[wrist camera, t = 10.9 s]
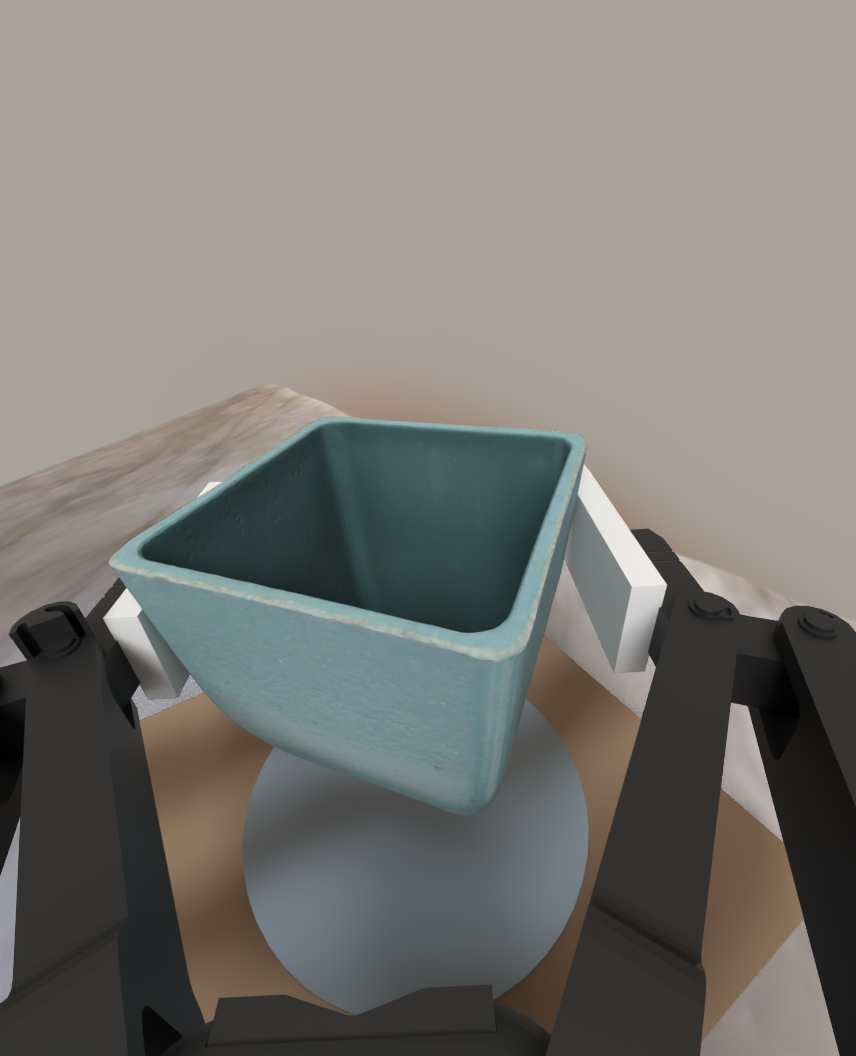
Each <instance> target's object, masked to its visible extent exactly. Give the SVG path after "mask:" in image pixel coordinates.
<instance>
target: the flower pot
mask: <svg viewBox="0 0 856 1056" xmlns="http://www.w3.org/2000/svg"><path fill="white" fill-rule="evenodd" d="M587 447H588V444H587V441H586V440H585V438H584V437H583V436H582V435H580V434H575V433H565V432H557V431H543V430H535V429H530V428H528V429H519V428H498V427H479V426H469V425H449V424H438V423H421V422H404V421H391V420H377V419H364V418H353V417H324V418H321V419H319V420H317V421H315V422H313V423H312V424H310V425H309V426H307V427H305V428H303V429H302V430H300V431H299V432H297V433H296V434H294V435H293V436H291V437H289V438H288V439H286V440H285V441H283V442H282V443H281V444H279V445H278V446H276V447H275V448H273V449H271V451H269V452H267V453H265V454H264V455H262V456H261V457H259V458H258V459H256V460H254V461H253V462H251V463H250V464H249V465H247V466H245V467H243V468H242V469H241V470H239V471H238V472H236V473H235V474H233V475H232V476H231V477H229V478H228V479H226V480H225V481H223V482H222V483H220V484H218V485H217V486H215V487H214V488H212V489H211V490H209V491H207V492H206V493H204V494H203V495H201V496H199V497H198V498H197V499H195V500H194V501H192V502H190V503H189V504H187V505H185V506H184V507H182V508H180V509H179V510H177V511H176V512H174V513H173V514H171V515H170V516H168V517H166V518H165V519H163V520H162V521H160V522H158V523H157V524H155V525H153V526H151V527H150V528H149V529H147V530H145V531H144V532H142V533H141V534H139V535H138V536H136V537H135V538H133V539H132V540H130V541H129V542H127V543H126V544H125V545H124V546H123V547H122V548H121V549H119V550H118V551H117V552H116V553H115V554H113V555H112V557H111V558H110V560H109V564H110V566H111V567H112V569H113V570H114V571H115V573H116V574H117V575H118V576H119V578H120V579H121V580H122V582H123V583H124V585H125V586H126V588H127V589H128V590H129V592H130V593H131V594H132V596H133V597H134V598H135V600H136V601H137V602H138V604H139V605H140V607H141V608H142V609H143V611H144V612H145V614H146V615H147V616H148V618H149V619H150V621H151V622H152V623H153V625H154V626H155V627H156V629H157V630H158V632H159V633H160V634H161V636H162V637H163V638H164V640H165V641H166V642H167V644H168V645H169V646H170V648H171V649H172V651H173V652H174V653H175V655H176V656H177V657H178V659H179V660H180V661H181V663H182V664H183V665H184V667H185V668H186V669H187V671H188V672H189V673H190V675H191V676H192V677H193V679H194V680H195V681H196V682H197V684H198V685H199V686H200V688H201V689H202V690H203V691H204V692H205V694H206V695H207V696H208V697H209V698H210V699H211V701H212V702H213V703H214V704H215V705H216V706H217V707H218V708H219V709H220V710H221V711H222V712H224V713H225V714H226V715H227V716H228V717H229V718H231V719H232V720H233V721H234V722H236V723H237V724H238V725H240V726H241V727H242V728H244V729H245V730H247V731H248V732H250V733H251V734H253V735H255V736H256V737H258V738H259V739H261V740H263V741H265V742H267V743H268V744H270V745H272V746H274V747H276V748H279V749H281V750H283V751H285V752H287V753H289V754H292V755H294V756H297V757H299V758H302V759H305V760H308V761H311V762H313V763H316V764H319V765H321V766H324V767H327V768H330V769H333V770H336V771H338V772H341V773H344V774H347V775H350V776H352V777H355V778H358V779H361V780H364V781H366V782H369V783H372V784H375V785H378V786H380V787H383V788H386V789H389V790H391V791H394V792H397V793H400V794H402V795H405V796H407V797H410V798H413V799H415V800H418V801H421V802H423V803H426V804H429V805H431V806H434V807H436V808H439V809H442V810H445V811H447V812H451V813H455V814H459V815H471V814H475V813H477V812H479V811H482V810H483V809H485V808H486V807H487V806H488V805H489V804H490V803H491V802H492V801H493V799H494V798H495V796H496V795H497V793H498V791H499V789H500V787H501V785H502V782H503V780H504V777H505V774H506V771H507V768H508V765H509V761H510V757H511V753H512V749H513V745H514V741H515V737H516V734H517V730H518V726H519V723H520V719H521V715H522V712H523V708H524V704H525V700H526V697H527V693H528V689H529V685H530V682H531V678H532V675H533V671H534V667H535V664H536V660H537V657H538V653H539V650H540V646H541V643H542V639H543V635H544V632H545V628H546V624H547V621H548V617H549V613H550V610H551V606H552V602H553V599H554V595H555V592H556V589H557V585H558V582H559V578H560V574H561V570H562V565H563V561H564V556H565V552H566V547H567V542H568V537H569V532H570V527H571V523H572V518H573V513H574V508H575V504H576V499H577V495H578V490H579V485H580V480H581V475H582V470H583V465H584V460H585V456H586V451H587Z"/></svg>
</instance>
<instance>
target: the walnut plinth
mask: <svg viewBox="0 0 856 1056" xmlns="http://www.w3.org/2000/svg"><path fill="white" fill-rule="evenodd" d="M640 722H641V719H640V718H639V717H638V716H636V715H635V714H634V713H633V712H632V711H631V710H630V709H628V708H627V707H626V706H625V705H624V704H623V703H621V702H620V701H619V700H618V699H617V698H616V697H614V696H613V695H612V694H611V693H610V692H609V691H608V690H606V689H605V688H604V687H603V686H602V685H601V684H599V683H598V682H597V681H596V680H595V679H594V678H593V677H591V676H590V675H589V674H588V673H587V672H586V671H584V670H583V669H582V668H581V667H580V666H579V665H577V664H576V663H575V662H574V661H573V660H572V659H571V658H569V657H568V656H567V655H566V654H565V653H564V652H562V651H561V650H560V649H559V648H558V647H557V646H555V645H554V644H553V643H552V642H551V641H550V640H549V639H547V638H546V637H545V636H544V635H543V639H542V643H541V646H540V650H539V653H538V657H537V660H536V664H535V667H534V671H533V675H532V678H531V682H530V685H529V689H528V693H527V697H526V700H525V704H524V708H523V712H522V715H521V719H520V723H519V726H518V730H517V734H516V737H515V741H514V745H513V749H512V753H511V757H510V761H509V765H508V768H507V771H506V774H505V777H504V780H503V782H502V785H501V787H500V789H499V791H498V793H497V795H496V796H495V798H494V799H493V801H492V802H491V803H490V804H489V805H488V806H487V807H486V808H485V809H483V810H482V811H479V812H477V813H475V814H471V815H459V814H455V813H451V812H447V811H445V810H442V809H439V808H436V807H434V806H431V805H429V804H426V803H423V802H421V801H418V800H415V799H413V798H410V797H407V796H405V795H402V794H400V793H397V792H394V791H391V790H389V789H386V788H383V787H380V786H378V785H375V784H372V783H369V782H366V781H364V780H361V779H358V778H355V777H352V776H350V775H347V774H344V773H341V772H338V771H336V770H333V769H330V768H327V767H324V766H321V765H319V764H316V763H313V762H311V761H308V760H305V759H302V758H299V757H297V756H294V755H292V754H289V753H287V752H285V751H283V750H281V749H279V748H276V747H274V746H272V745H270V744H268V743H267V742H265V741H263V740H261V739H259V738H258V737H256V736H255V735H253V734H251V733H250V732H248V731H247V730H245V729H244V728H242V727H241V726H240V725H238V724H237V723H236V722H234V721H233V720H232V719H231V718H229V717H228V716H227V715H226V714H225V713H224V712H222V711H221V710H220V709H219V708H218V707H217V706H216V705H215V704H214V703H213V702H212V701H211V699H210V698H209V697H208V696H207V695H206V694H205V692H204V693H202V694H200V695H198V696H195V697H193V698H191V699H188V700H186V701H184V702H182V703H179V704H177V705H175V706H172V707H170V708H168V709H166V710H163V711H161V712H159V713H156V714H154V715H152V716H150V717H147V718H145V719H143V720H140V726H141V731H142V736H143V742H144V747H145V752H146V757H147V762H148V767H149V773H150V778H151V783H152V788H153V793H154V799H155V804H156V809H157V814H158V819H159V824H160V830H161V835H162V840H163V845H164V850H165V856H166V861H167V866H168V871H169V876H170V881H171V887H172V892H173V897H174V902H175V907H176V913H177V918H178V923H179V928H180V933H181V938H182V944H183V949H184V954H185V959H186V964H187V970H188V975H189V979H190V983H191V987H192V990H193V993H194V995H195V998H196V1000H197V1002H198V1005H199V1007H200V1010H201V1012H202V1015H203V1018H204V1021H205V1024H206V1023H207V1022H209V1021H212V1020H213V1019H214V1015H215V1011H216V1007H217V1003H218V999H219V998H224V997H245V996H265V995H288V996H291V997H294V998H297V999H300V1000H303V1001H306V1002H309V1003H312V1004H315V1005H318V1006H321V1007H324V1008H327V1009H330V1010H333V1011H336V1012H339V1013H343V1014H346V1015H358V1014H361V1013H364V1012H366V1011H368V1010H371V1009H373V1008H376V1007H378V1006H381V1005H383V1004H386V1003H388V1002H391V1001H393V1000H396V999H398V998H400V997H403V996H405V995H408V994H410V993H413V992H415V991H418V990H420V989H423V988H428V987H449V986H469V985H490V984H492V992H493V1002H495V1003H498V1004H501V1005H504V1006H507V1007H510V1008H512V1009H513V1010H515V1011H517V1012H519V1013H521V1014H523V1015H525V1016H527V1017H528V1018H530V1019H531V1020H533V1021H534V1022H536V1023H537V1024H538V1025H540V1026H541V1027H543V1028H544V1029H545V1030H546V1031H547V1032H548V1033H549V1034H550V1035H552V1031H553V1028H554V1024H555V1021H556V1017H557V1014H558V1010H559V1007H560V1003H561V1000H562V996H563V993H564V989H565V986H566V982H567V978H568V975H569V971H570V968H571V964H572V961H573V957H574V954H575V950H576V947H577V943H578V940H579V936H580V933H581V929H582V926H583V922H584V919H585V915H586V912H587V908H588V905H589V902H590V898H591V895H592V892H593V888H594V884H595V881H596V877H597V874H598V870H599V867H600V863H601V860H602V856H603V853H604V849H605V846H606V842H607V839H608V835H609V832H610V828H611V825H612V821H613V818H614V814H615V811H616V807H617V803H618V800H619V796H620V793H621V789H622V786H623V782H624V779H625V775H626V772H627V768H628V765H629V761H630V758H631V754H632V751H633V747H634V744H635V740H636V737H637V733H638V729H639V726H640ZM802 920H803V914H802V910H801V906H800V902H799V899H798V895H797V891H796V887H795V883H794V880H793V876H792V872H791V868H790V864H789V861H788V857H787V853H786V849H785V845H784V843H783V842H782V841H781V840H780V839H779V838H778V837H776V836H775V835H774V834H773V833H772V832H771V831H769V830H768V829H767V828H766V827H765V826H764V825H763V824H761V823H760V822H759V821H758V820H757V819H756V818H754V817H753V816H752V815H751V814H750V813H749V812H748V811H746V810H745V809H744V808H743V807H742V806H741V805H739V804H738V803H737V802H736V801H735V800H734V799H732V798H731V797H730V796H729V795H728V794H727V793H726V792H724V791H723V790H722V789H721V790H720V799H719V807H718V816H717V824H716V833H715V841H714V850H713V858H712V867H711V875H710V884H709V892H708V901H707V909H706V918H705V926H704V934H703V943H702V955H701V956H702V965H703V968H704V970H705V973H706V998H705V1011H704V1021H703V1030H702V1040H703V1039H704V1037H705V1036H706V1035H707V1034H708V1033H709V1031H710V1030H711V1029H712V1028H713V1027H714V1025H715V1024H716V1023H717V1022H718V1021H719V1019H720V1018H721V1017H722V1016H723V1015H724V1013H725V1012H726V1011H727V1010H728V1009H729V1007H730V1006H731V1005H732V1004H733V1003H734V1001H735V1000H736V999H737V998H738V997H739V995H740V994H741V993H742V992H743V991H744V989H745V988H746V987H747V986H748V985H749V983H750V982H751V981H752V980H753V979H754V977H755V976H756V975H757V974H758V973H759V971H760V970H761V969H762V968H763V967H764V965H765V964H766V963H767V962H768V961H769V959H770V958H771V957H772V956H773V955H774V953H775V952H776V951H777V950H778V949H779V947H780V946H781V945H782V944H783V943H784V941H785V940H786V939H787V938H788V936H789V935H790V934H791V933H792V932H793V930H794V929H795V928H796V927H797V926H798V924H799V923H800V922H801V921H802ZM702 1040H701V1041H702Z"/></svg>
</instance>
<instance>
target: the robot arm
mask: <svg viewBox="0 0 856 1056" xmlns="http://www.w3.org/2000/svg"><path fill="white" fill-rule="evenodd" d="M220 483H222V482H209V483H208V484H207V486H206V487H205V488H204V490H203V491H202V492H201V493H200V495H199V496H201V495H203V494H204V493H206V492H207V491H209V490H211V489H212V488H214V487H215V486H217V485H218V484H220ZM199 496H198V497H199ZM198 497H197V498H198ZM564 559H565V562H566V564H567V566H568V568H569V571H570V573H571V575H572V578H573V580H574V582H575V585H576V587H577V589H578V592H579V594H580V596H581V598H582V601H583V603H584V605H585V608H586V610H587V612H588V615H589V617H590V619H591V621H592V624H593V626H594V628H595V631H596V633H597V635H598V638H599V640H600V642H601V644H602V647H603V649H604V651H605V654H606V656H607V658H608V661H609V663H610V665H611V667H612V670H613V672H614V673H623V672H641V671H645V668H646V665H647V661H648V657H649V655H650V657H651V659H652V660H653V662H654V664H655V666H656V670H655V673H654V677H653V680H652V684H651V687H650V691H649V694H648V698H647V701H646V705H645V708H644V712H643V715H642V719H641V722H640V726H639V729H638V733H637V737H636V740H635V744H634V747H633V751H632V754H631V758H630V761H629V765H628V768H627V772H626V775H625V779H624V782H623V786H622V789H621V793H620V796H619V800H618V803H617V807H616V811H615V814H614V818H613V821H612V825H611V828H610V832H609V835H608V839H607V842H606V846H605V849H604V853H603V856H602V860H601V863H600V867H599V870H598V874H597V877H596V881H595V884H594V888H593V892H592V895H591V898H590V902H589V905H588V908H587V912H586V915H585V919H584V922H583V926H582V929H581V933H580V936H579V940H578V943H577V947H576V950H575V954H574V957H573V961H572V964H571V968H570V971H569V975H568V978H567V982H566V986H565V989H564V993H563V996H562V1000H561V1003H560V1007H559V1010H558V1014H557V1017H556V1021H555V1024H554V1028H553V1031H552V1035H550V1034H549V1033H548V1032H547V1031H546V1030H545V1029H544V1028H543V1027H541V1026H540V1025H538V1024H537V1023H536V1022H534V1021H533V1020H531V1019H530V1018H528V1017H527V1016H525V1015H523V1014H521V1013H519V1012H517V1011H515V1010H513V1009H512V1008H510V1007H507V1006H504V1005H501V1004H498V1003H495V1002H493V992H492V984H490V985H469V986H449V987H428V988H423V989H420V990H418V991H415V992H413V993H410V994H408V995H405V996H403V997H400V998H398V999H396V1000H393V1001H391V1002H388V1003H386V1004H383V1005H381V1006H378V1007H376V1008H373V1009H371V1010H368V1011H366V1012H364V1013H361V1014H358V1015H346V1014H343V1013H339V1012H336V1011H333V1010H330V1009H327V1008H324V1007H321V1006H318V1005H315V1004H312V1003H309V1002H306V1001H303V1000H300V999H297V998H294V997H291V996H288V995H265V996H245V997H224V998H219V999H218V1003H217V1007H216V1011H215V1015H214V1019H213V1020H212V1021H209V1022H207V1023H206V1024H205V1021H204V1018H203V1015H202V1012H201V1010H200V1007H199V1005H198V1002H197V1000H196V998H195V995H194V993H193V990H192V987H191V983H190V979H189V975H188V970H187V964H186V959H185V954H184V949H183V944H182V938H181V933H180V928H179V923H178V918H177V913H176V907H175V902H174V897H173V892H172V887H171V881H170V876H169V871H168V866H167V861H166V856H165V850H164V845H163V840H162V835H161V830H160V824H159V819H158V814H157V809H156V804H155V799H154V793H153V788H152V783H151V778H150V773H149V767H148V762H147V757H146V752H145V747H144V742H143V736H142V731H141V726H140V721H139V716H138V710H137V707H136V705H135V704H134V702H133V700H132V699H131V697H132V696H133V694H134V692H135V691H136V689H137V687H138V686H139V684H140V686H141V688H142V690H143V691H144V693H145V695H146V697H147V699H148V700H152V699H170V698H178V697H179V695H180V693H181V691H182V689H183V687H184V685H185V683H186V681H187V679H188V677H189V675H190V673H189V672H188V671H187V669H186V668H185V667H184V665H183V664H182V663H181V661H180V660H179V659H178V657H177V656H176V655H175V653H174V652H173V651H172V649H171V648H170V646H169V645H168V644H167V642H166V641H165V640H164V638H163V637H162V636H161V634H160V633H159V632H158V630H157V629H156V627H155V626H154V625H153V623H152V622H151V621H150V619H149V618H148V616H147V615H146V614H145V612H144V611H143V609H142V608H141V607H140V605H139V604H138V602H137V601H136V600H135V598H134V597H133V596H132V594H131V593H130V592H129V590H128V589H127V588H126V586H125V585H124V583H123V582H122V580H121V579H120V578H118V579H117V581H116V582H115V583H114V584H113V587H111V588H110V589H109V590H108V591H107V593H106V594H105V597H104V598H102V599H101V600H100V601H99V602H98V604H97V605H96V606H95V607H94V608H93V610H92V611H91V612H90V613H89V615H88V616H87V617H86V618H84V616H83V614H82V613H81V611H80V609H79V608H78V606H77V604H75V603H72V602H56V603H52V604H48V605H45V606H43V607H40V608H38V609H36V610H33V611H31V612H30V613H28V614H27V615H25V616H24V617H22V618H21V619H19V620H18V621H17V622H16V623H15V624H14V625H13V626H12V628H11V630H10V633H9V635H10V637H11V638H12V640H13V641H14V643H15V644H16V645H17V647H18V648H19V650H20V651H21V652H22V654H23V655H24V657H25V658H26V659H27V661H23V662H19V663H16V664H12V665H8V666H5V667H1V668H0V875H1V872H2V869H3V866H4V863H5V860H6V857H7V854H8V851H9V848H10V845H11V842H12V839H13V836H14V833H15V830H16V828H17V825H18V822H19V819H20V839H19V860H18V881H17V903H16V924H15V945H14V967H13V982H12V988H11V991H10V994H9V996H8V998H7V999H5V1000H4V1001H3V1002H1V1003H0V1056H700V1049H701V1040H702V1030H703V1021H704V1011H705V998H706V973H705V970H704V968H703V965H702V956H701V955H702V943H703V934H704V926H705V918H706V909H707V901H708V892H709V884H710V875H711V867H712V858H713V850H714V841H715V833H716V824H717V816H718V807H719V799H720V790H721V782H722V774H723V765H724V757H725V748H726V740H727V731H728V723H729V714H730V706H731V703H736V704H741V705H746V706H748V708H749V712H750V716H751V720H752V724H753V727H754V731H755V735H756V739H757V743H758V746H759V750H760V754H761V758H762V762H763V765H764V769H765V773H766V777H767V781H768V784H769V788H770V792H771V796H772V800H773V803H774V807H775V811H776V815H777V819H778V822H779V826H780V830H781V834H782V838H783V842H784V845H785V849H786V853H787V857H788V861H789V864H790V868H791V872H792V876H793V880H794V883H795V887H796V891H797V895H798V899H799V902H800V906H801V910H802V914H803V918H804V921H805V925H806V929H807V933H808V937H809V940H810V944H811V948H812V952H813V956H814V959H815V963H816V967H817V971H818V975H819V979H820V982H821V986H822V990H823V994H824V998H825V1001H826V1005H827V1009H828V1013H829V1017H830V1020H831V1024H832V1028H833V1032H834V1036H835V1039H836V1043H837V1047H838V1051H839V1055H840V1056H856V632H855V631H854V630H853V628H852V627H851V626H850V625H849V624H848V623H847V622H845V621H844V620H842V619H841V618H839V617H838V616H837V615H834V614H832V613H830V612H827V611H825V610H823V609H818V608H814V607H810V606H793V607H790V608H786V609H785V610H784V612H783V613H782V614H781V616H780V618H779V621H775V620H769V619H763V618H756V617H750V616H745V615H741V614H739V611H738V610H737V609H736V607H735V606H734V605H733V604H732V603H731V602H729V601H727V600H726V599H724V598H723V597H720V596H718V595H715V594H713V593H709V592H704V591H703V589H702V588H701V587H700V585H699V584H698V583H697V581H696V580H695V579H694V578H693V576H692V575H691V574H690V572H689V571H688V570H687V568H686V567H685V566H684V565H683V563H682V562H680V561H679V558H678V557H677V555H676V554H675V553H674V552H672V549H671V548H670V546H669V545H668V544H667V543H666V541H665V540H664V539H663V538H662V537H660V536H659V535H657V534H656V533H654V532H653V531H651V530H649V529H637V530H629V529H628V527H627V526H626V524H625V523H624V521H623V520H622V518H621V517H620V515H619V514H618V513H617V511H616V510H615V508H614V507H613V505H612V504H611V502H610V501H609V499H608V498H607V496H606V495H605V493H604V492H603V491H602V489H601V487H600V486H599V485H598V483H597V482H596V480H595V479H594V477H593V476H592V474H591V473H590V471H589V470H588V469H587V467H586V466H585V464H584V465H583V470H582V475H581V480H580V485H579V490H578V495H577V499H576V504H575V508H574V513H573V518H572V523H571V527H570V532H569V537H568V542H567V547H566V552H565V556H564ZM20 816H21V817H20Z"/></svg>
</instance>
